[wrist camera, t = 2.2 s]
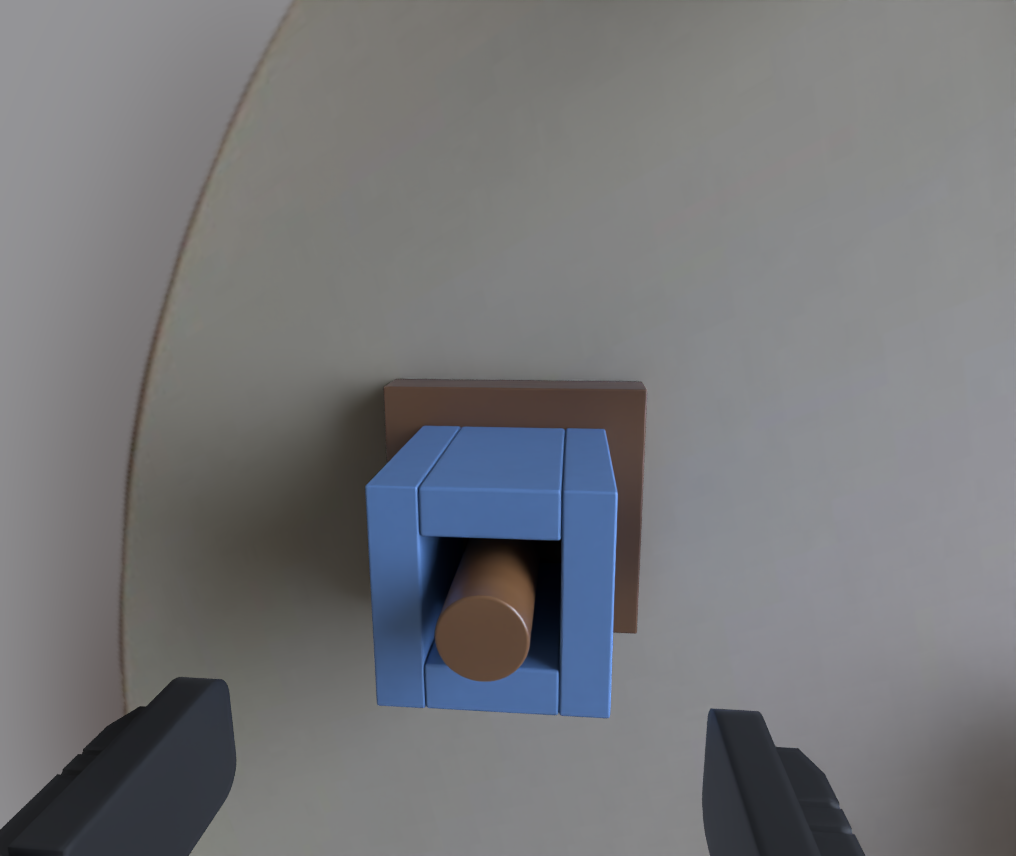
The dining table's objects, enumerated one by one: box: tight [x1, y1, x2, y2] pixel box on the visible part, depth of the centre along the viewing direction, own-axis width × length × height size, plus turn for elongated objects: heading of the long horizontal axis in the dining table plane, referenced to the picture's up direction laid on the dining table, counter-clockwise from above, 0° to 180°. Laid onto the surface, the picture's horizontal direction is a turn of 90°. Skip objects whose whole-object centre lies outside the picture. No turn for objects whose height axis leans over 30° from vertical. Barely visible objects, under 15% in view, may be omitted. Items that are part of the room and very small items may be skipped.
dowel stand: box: [383, 379, 647, 682], centre depth 18 cm, size 8×8×9 cm
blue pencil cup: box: [365, 426, 618, 718], centre depth 18 cm, size 6×6×6 cm
